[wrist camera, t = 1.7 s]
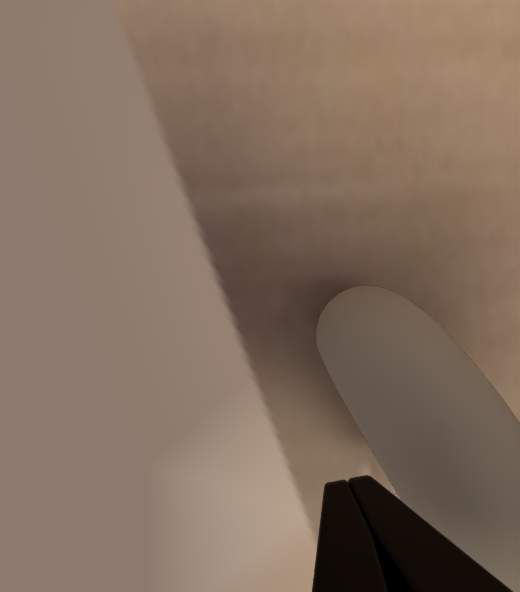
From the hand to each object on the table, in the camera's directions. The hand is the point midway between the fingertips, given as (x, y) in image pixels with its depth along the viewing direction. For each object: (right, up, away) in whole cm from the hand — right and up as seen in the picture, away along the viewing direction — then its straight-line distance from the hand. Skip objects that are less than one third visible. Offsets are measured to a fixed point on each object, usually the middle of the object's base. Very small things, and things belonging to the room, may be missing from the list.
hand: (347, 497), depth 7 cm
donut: (+3, +1, +11) cm, 11 cm away
